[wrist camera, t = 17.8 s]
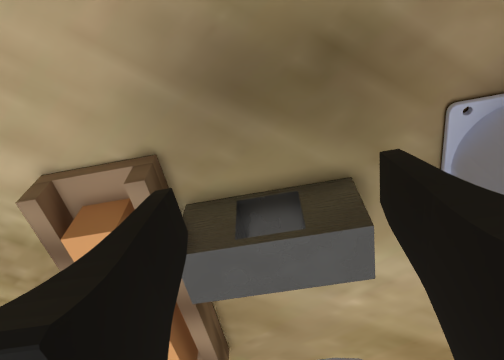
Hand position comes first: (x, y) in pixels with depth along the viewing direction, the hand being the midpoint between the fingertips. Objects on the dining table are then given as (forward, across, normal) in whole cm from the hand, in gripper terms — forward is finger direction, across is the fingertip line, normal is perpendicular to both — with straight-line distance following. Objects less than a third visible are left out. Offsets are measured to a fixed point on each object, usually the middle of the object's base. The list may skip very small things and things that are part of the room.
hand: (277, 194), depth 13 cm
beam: (+9, +1, +8) cm, 12 cm away
